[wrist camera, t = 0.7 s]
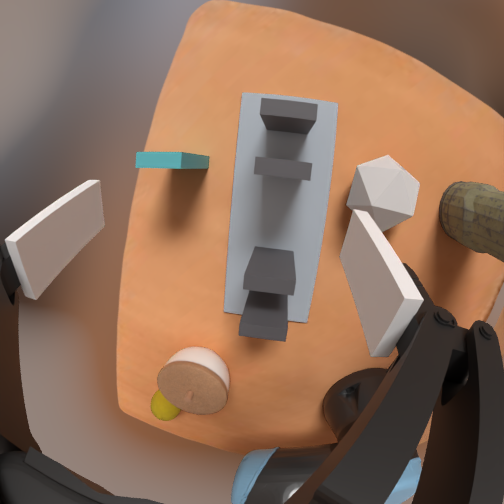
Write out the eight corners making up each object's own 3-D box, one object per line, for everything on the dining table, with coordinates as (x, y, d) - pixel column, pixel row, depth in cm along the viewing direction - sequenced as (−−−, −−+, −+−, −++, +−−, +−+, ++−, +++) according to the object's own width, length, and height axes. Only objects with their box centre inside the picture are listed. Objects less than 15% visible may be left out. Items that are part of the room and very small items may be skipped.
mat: (306, 321, 39) (306, 322, 39) (224, 310, 40) (223, 311, 40) (337, 103, 30) (338, 103, 30) (242, 93, 31) (242, 92, 31)
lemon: (155, 378, 46) (139, 407, 39) (181, 378, 45) (166, 409, 38) (166, 398, 48) (152, 427, 40) (191, 399, 47) (179, 429, 39)
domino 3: (291, 262, 36) (293, 295, 27) (253, 257, 37) (242, 289, 27) (293, 250, 36) (296, 280, 26) (255, 246, 36) (244, 274, 27)
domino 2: (302, 177, 33) (310, 180, 24) (262, 173, 33) (253, 174, 24) (304, 165, 33) (312, 163, 23) (263, 160, 33) (255, 156, 23)
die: (406, 215, 34) (442, 176, 25) (374, 256, 32) (413, 221, 23) (363, 175, 36) (388, 129, 27) (326, 211, 34) (348, 164, 25)
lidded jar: (236, 386, 44) (227, 427, 35) (178, 379, 46) (160, 415, 37) (234, 338, 41) (222, 378, 32) (169, 331, 42) (145, 366, 34)
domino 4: (285, 300, 38) (285, 341, 28) (249, 295, 38) (238, 335, 29) (287, 289, 38) (287, 329, 28) (251, 285, 38) (239, 322, 28)
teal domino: (208, 168, 34) (180, 168, 25) (172, 166, 35) (135, 167, 25) (209, 156, 34) (181, 152, 24) (173, 155, 34) (136, 152, 25)
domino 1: (307, 134, 31) (316, 120, 22) (266, 129, 32) (259, 114, 22) (308, 122, 31) (317, 104, 21) (268, 117, 31) (261, 97, 22)
